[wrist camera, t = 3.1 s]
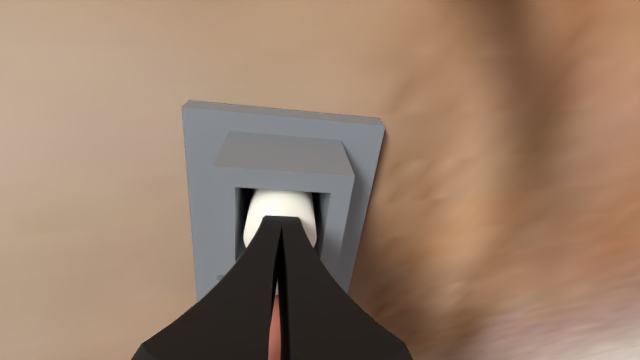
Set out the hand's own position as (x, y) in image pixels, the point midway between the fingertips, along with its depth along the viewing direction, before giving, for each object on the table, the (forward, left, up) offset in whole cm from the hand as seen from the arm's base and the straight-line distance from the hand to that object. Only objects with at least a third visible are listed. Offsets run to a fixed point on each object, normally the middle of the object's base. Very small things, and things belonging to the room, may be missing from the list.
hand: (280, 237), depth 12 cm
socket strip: (0, +6, -5) cm, 8 cm away
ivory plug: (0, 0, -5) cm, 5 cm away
